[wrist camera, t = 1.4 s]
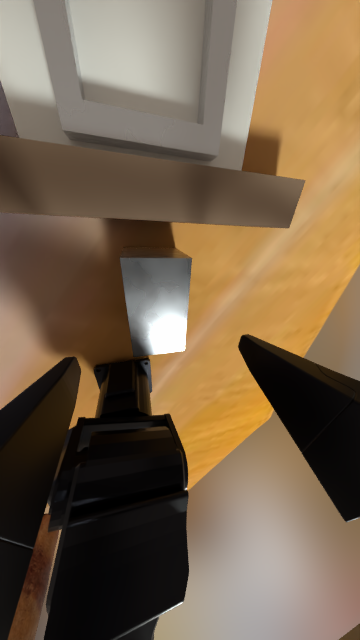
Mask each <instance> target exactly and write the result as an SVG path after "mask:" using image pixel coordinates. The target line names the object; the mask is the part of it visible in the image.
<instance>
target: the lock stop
mask: <svg viewBox="0 0 360 640" xmlns="http://www.w3.org/2000/svg"><path fill="white" fill-rule="evenodd" d="M120 263H121V270H122V278H123V285H124V292H125V299H126V306H127V313H128V321H129V328H130V335H131V342H132V349H133V356H134V357H139V356H147V355H154V354H161V353H169V352H176V351H183V350H185V338H186V326H187V313H188V301H189V288H190V276H191V263H192V258H191V257H189V256H188V255H186V254H184V253H183V252H181V251H180V250H178V249H176V248H145V247H124V248H123V250H122V253H121V256H120Z"/></svg>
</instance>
